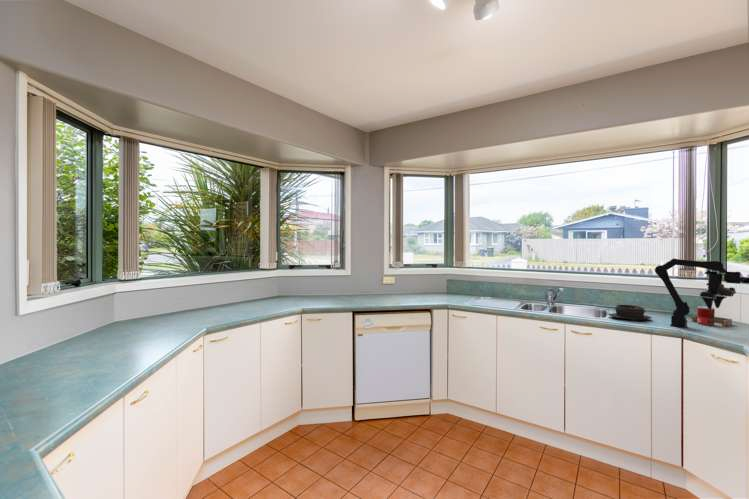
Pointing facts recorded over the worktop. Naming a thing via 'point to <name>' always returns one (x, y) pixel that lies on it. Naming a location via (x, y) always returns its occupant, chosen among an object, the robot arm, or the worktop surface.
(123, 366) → the worktop surface
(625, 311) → the casserole
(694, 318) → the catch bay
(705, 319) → the canned food
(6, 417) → the worktop surface
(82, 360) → the worktop surface
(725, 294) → the robot arm
